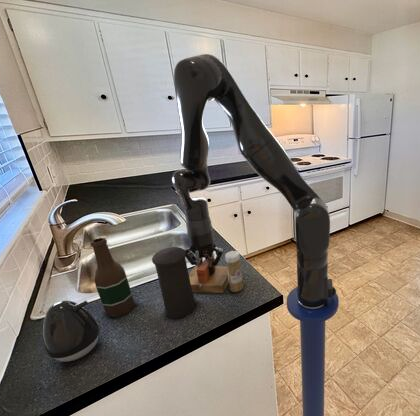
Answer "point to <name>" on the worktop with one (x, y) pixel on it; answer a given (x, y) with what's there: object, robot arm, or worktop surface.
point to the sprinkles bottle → (234, 271)
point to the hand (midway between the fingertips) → (207, 274)
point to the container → (174, 281)
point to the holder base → (210, 281)
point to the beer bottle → (111, 281)
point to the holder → (203, 272)
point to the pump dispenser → (69, 331)
